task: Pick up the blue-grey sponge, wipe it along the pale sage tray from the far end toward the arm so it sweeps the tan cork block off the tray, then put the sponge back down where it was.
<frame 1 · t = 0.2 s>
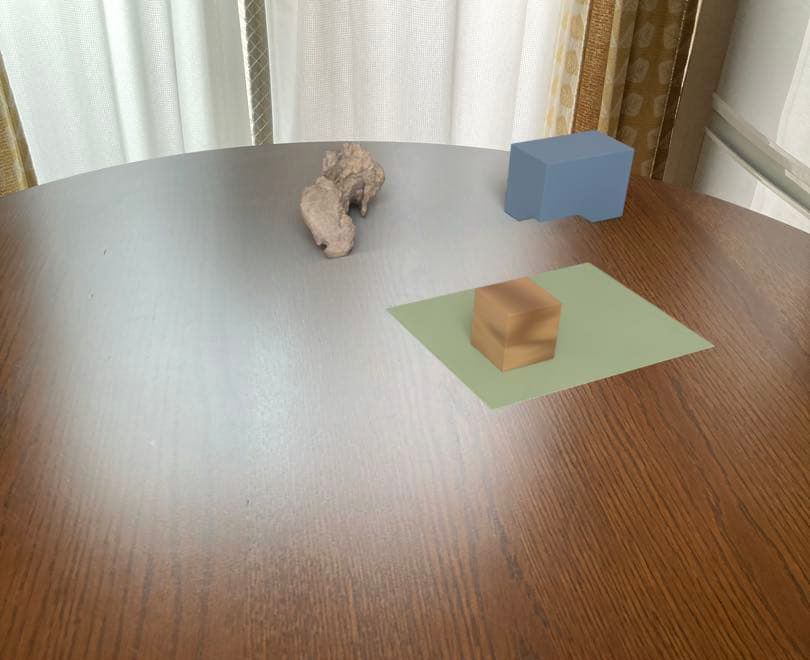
tray: (544, 340, 72), on the table
sponge: (563, 214, 91), on the table
rock: (344, 229, 87), on the table
cork block: (511, 351, 68), point 1 cm above the table, touching tray
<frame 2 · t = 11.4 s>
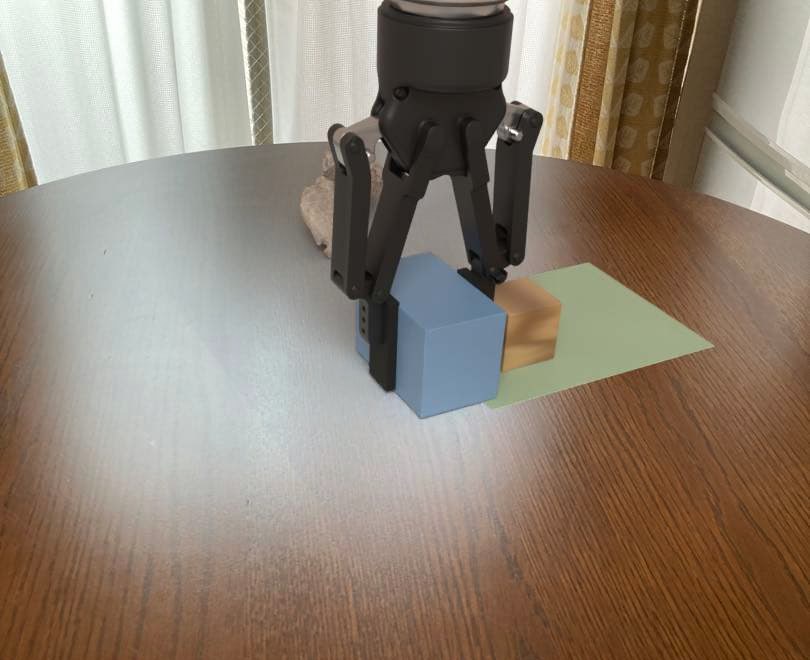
hand: (424, 370, 65), 2 cm above the table, tool pointing down, fingers closed on sponge, 6 cm apart
sponge: (423, 373, 66), point 1 cm above the table, touching gripper
everything else where it was.
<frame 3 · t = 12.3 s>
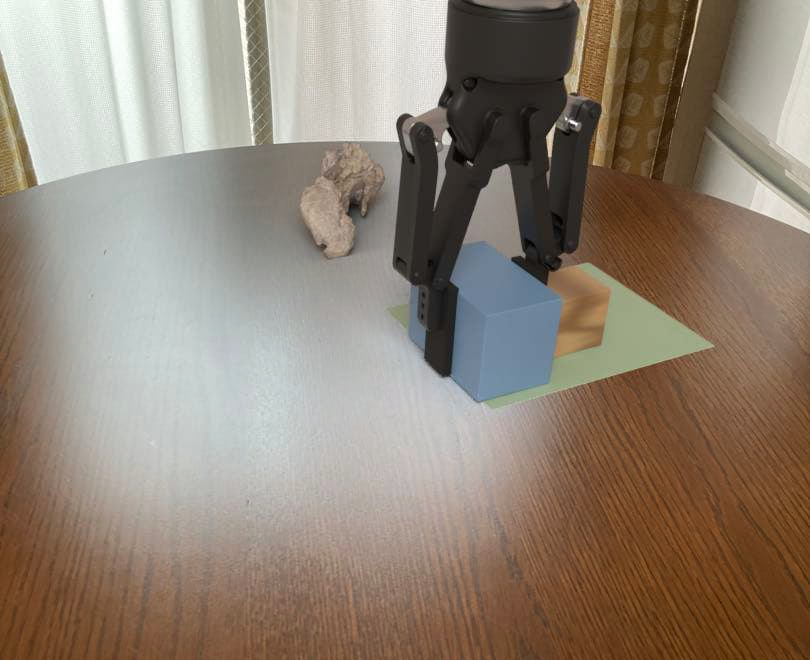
hand: (477, 355, 67), 2 cm above the table, tool pointing down, fingers closed on sponge, 6 cm apart
sponge: (476, 359, 67), point 1 cm above the table, touching gripper
cork block: (559, 338, 70), point 1 cm above the table, touching gripper
everything else where it was.
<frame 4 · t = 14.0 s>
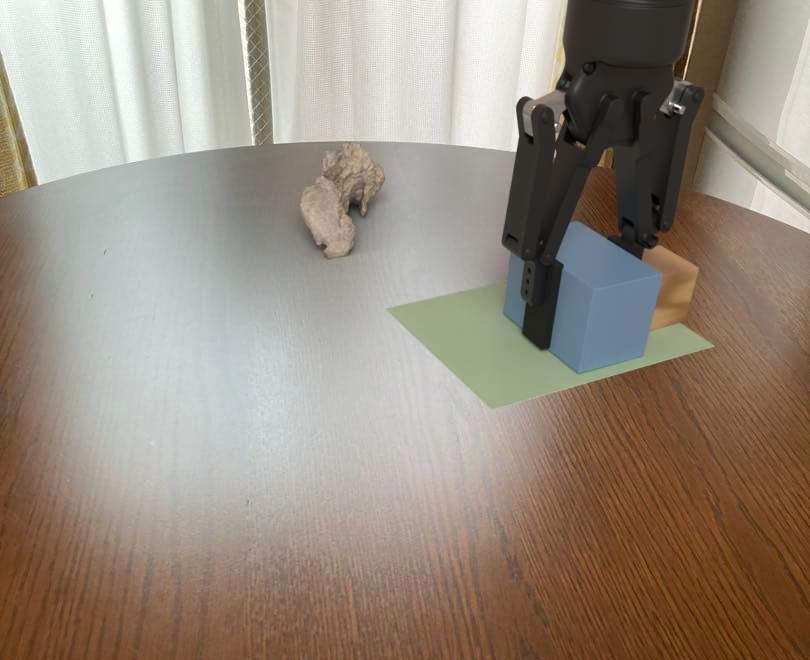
hand: (572, 331, 70), 2 cm above the table, tool pointing down, fingers closed on sponge, 6 cm apart
sponge: (571, 334, 70), point 1 cm above the table, touching gripper
cork block: (644, 315, 73), point 1 cm above the table, touching gripper, tray
everything else where it was.
when the fingers open (0 cm above the table, at t = 23.4 s): sponge stays where it is, on the table.
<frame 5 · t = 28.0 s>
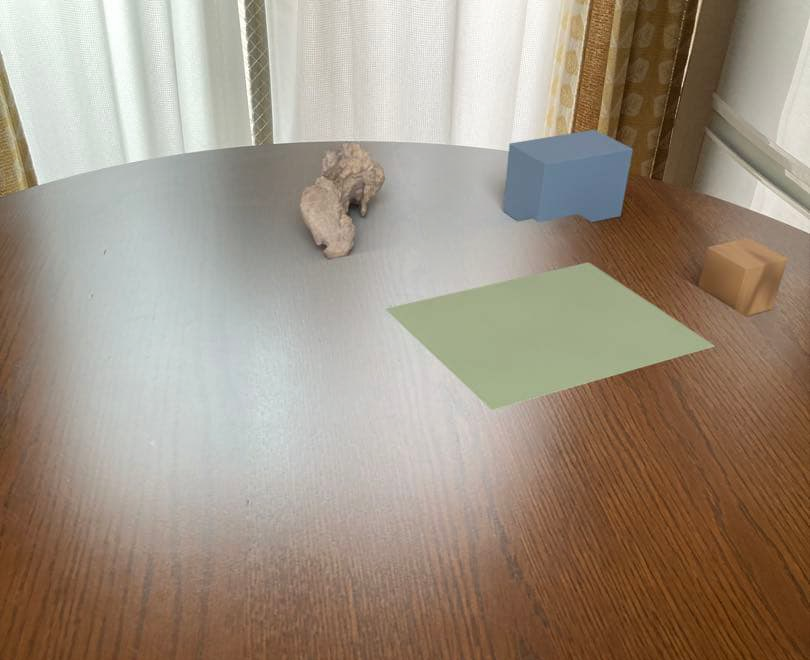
sponge: (561, 213, 91), on the table
cork block: (719, 283, 75), point 2 cm above the table, tilted 90°
everything else where it was.
at the end: cork block inside the target area (3.0 cm from its centre), point 2.2 cm above the table; cork block touching table; sponge inside the target area (0.1 cm from its centre), on the table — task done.
